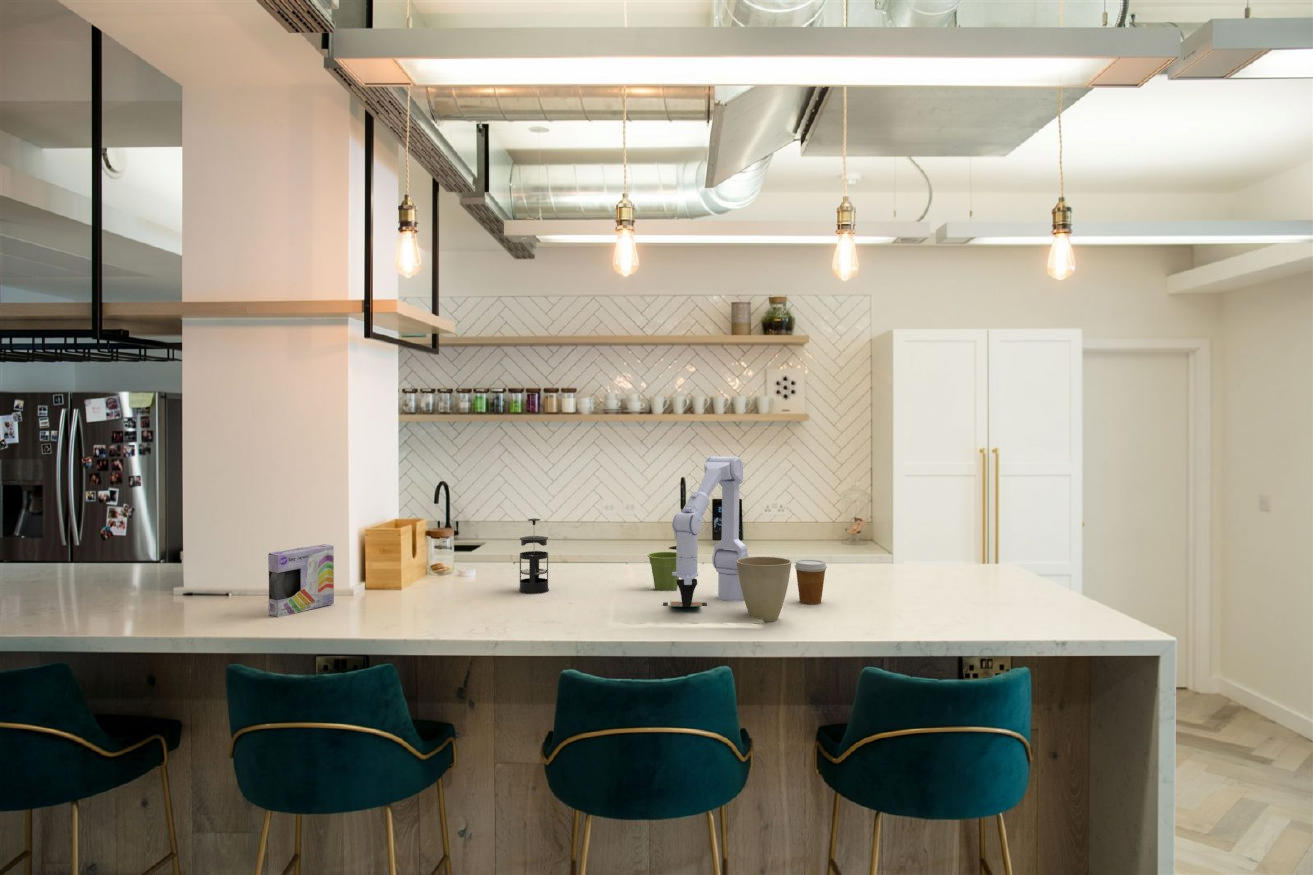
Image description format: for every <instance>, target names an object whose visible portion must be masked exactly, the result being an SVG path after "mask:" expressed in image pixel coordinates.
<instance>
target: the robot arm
mask: <svg viewBox="0 0 1313 875" xmlns="http://www.w3.org/2000/svg"><path fill="white" fill-rule="evenodd" d="M743 463H744V462H742V460H741V458H740V457H739V456H716V455H715V456H714V455H708V457H707V458H706V459H705V462H704V467H703V468H704V469H703V470H704V476H703V478H702V480H701V483H700V484H699V487H698V489H697V491H694V492H692V493H691V494H690V495H689V497H688V500H687V501H686V503H685V505H684V507H683V508H682V510H681V511H680V512H678V513H676V514H675V515H674V517H673V519H672V523H671V526H672V531H673V532H674V534H673V535H674V539H675V541H676V551H675V552H676V572H672V575H673V576H677V577H679V579H677V580H676V581H677V585H678V587H677V588H679V591H680V592H679V593H680V597H681V598H680V599H681V601H682V604H683V607H685V608H688V607H689V608H690V607H691V603H692V601H693V596H694V593H695V589H696V587H697V585H698V579H697V577H698V576H699V572H698V534H699V533H700V531H701V530H702V527H703V522H704V514H705V513H706V511H707V509H708V507H709V505H710V499H709V497H710V495H711V494H712V493H713V492H714V490H715V488H716V487H717V485H718V484H719V485H720V486H721V488H722V491H721V495H722V496H721V540H719V541H718V542H717V543H716V544H714V548H713V554H712V558H711V561H712V562H711V563H712V565H713V568H714V570H716V573H718V578H717V579H718V590H717V591H718V592H717V594H718V596H717V598H718V600H721V601H744V597H743V594H742V590H741V585H740V581H739V575H738V569H737V562H736V561H737V560H738V559H741V558H747V557H749V554H748V546H747V545H746V544H745V543H744V542H742V540H740V539H739V538H740V537H739V536H740V533H739V532H740V531H739V530H740V529H739V528H740V485H741V484H743V478H744V464H743ZM683 607H682V608H683ZM691 608H692V607H691Z"/></svg>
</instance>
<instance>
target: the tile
mask: <svg viewBox="0 0 1313 875" xmlns="http://www.w3.org/2000/svg"><path fill="white" fill-rule="evenodd" d="M669 606H671V607H672V608H673V607H681V608H683V604H682V600H669ZM692 607H702V601H701V600H692V603H691V608H692Z"/></svg>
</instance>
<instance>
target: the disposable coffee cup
mask: <svg viewBox="0 0 1313 875" xmlns="http://www.w3.org/2000/svg"><path fill="white" fill-rule="evenodd" d="M794 568H795V571H796V572H795V573H796V579H797V580H796V581H797V588H798V589H797V590H798V596H799V597H798V598H799V602H800V603H801V604H806V605H819V604H821V603H822V598H823V597H822V596H823V590H824V583H825V582H824V581H825V576H826V575H825V574H826V571H827V570H826V569H827V568H828V566H827V565H826V562H825V561H823V560H818V559H800V560H796V561H795V564H794Z"/></svg>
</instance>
